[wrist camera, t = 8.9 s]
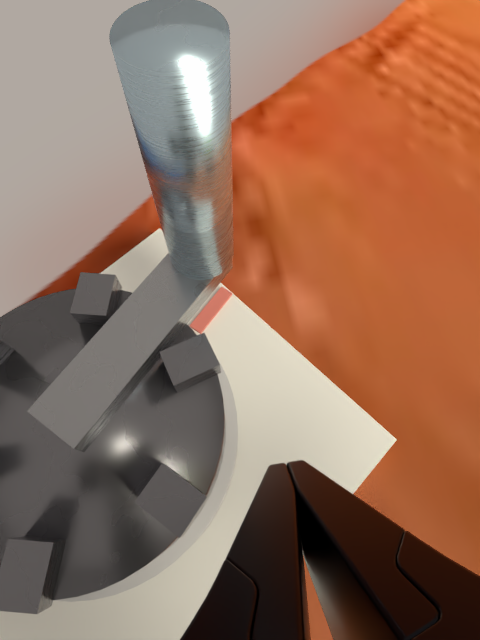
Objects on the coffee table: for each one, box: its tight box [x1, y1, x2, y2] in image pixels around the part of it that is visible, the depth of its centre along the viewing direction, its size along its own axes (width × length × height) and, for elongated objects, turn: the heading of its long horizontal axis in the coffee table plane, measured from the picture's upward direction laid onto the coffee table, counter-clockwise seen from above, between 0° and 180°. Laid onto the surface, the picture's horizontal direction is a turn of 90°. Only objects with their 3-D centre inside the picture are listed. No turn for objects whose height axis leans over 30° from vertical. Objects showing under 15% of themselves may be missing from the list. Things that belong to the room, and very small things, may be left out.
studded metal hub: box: [0, 0, 233, 614], centre depth 12 cm, size 15×11×12 cm
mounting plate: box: [0, 228, 397, 640], centre depth 18 cm, size 17×18×3 cm
